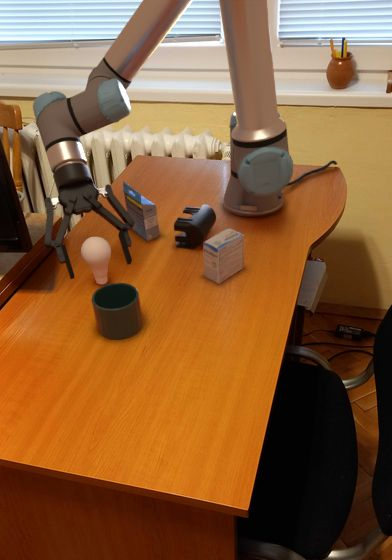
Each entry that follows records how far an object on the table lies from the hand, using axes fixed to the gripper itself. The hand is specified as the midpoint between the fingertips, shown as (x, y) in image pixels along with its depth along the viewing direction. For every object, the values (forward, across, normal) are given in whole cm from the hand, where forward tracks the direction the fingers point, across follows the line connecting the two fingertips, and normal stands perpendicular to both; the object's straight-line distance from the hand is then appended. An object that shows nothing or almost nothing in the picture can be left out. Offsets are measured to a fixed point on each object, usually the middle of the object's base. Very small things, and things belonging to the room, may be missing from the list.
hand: (101, 269), depth 113 cm
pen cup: (+13, 0, +6) cm, 14 cm away
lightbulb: (+2, 0, -6) cm, 6 cm away
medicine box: (+7, -25, 0) cm, 26 cm away
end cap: (-4, -25, -11) cm, 28 cm away
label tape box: (-10, -15, -18) cm, 25 cm away
